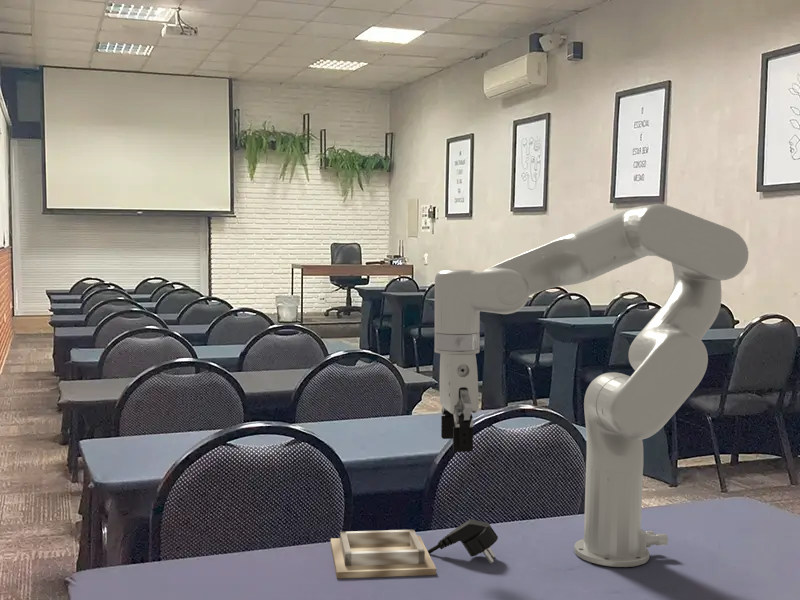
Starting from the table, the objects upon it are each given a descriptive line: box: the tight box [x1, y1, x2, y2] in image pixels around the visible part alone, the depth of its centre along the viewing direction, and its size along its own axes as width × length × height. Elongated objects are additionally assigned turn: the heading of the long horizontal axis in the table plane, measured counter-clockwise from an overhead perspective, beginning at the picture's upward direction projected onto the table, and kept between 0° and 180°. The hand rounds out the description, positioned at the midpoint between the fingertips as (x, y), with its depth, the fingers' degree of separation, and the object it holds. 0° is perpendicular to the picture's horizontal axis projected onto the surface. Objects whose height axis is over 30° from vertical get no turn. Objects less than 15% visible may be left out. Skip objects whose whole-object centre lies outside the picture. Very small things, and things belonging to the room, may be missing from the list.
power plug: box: [427, 518, 499, 564], centre depth 144 cm, size 6×8×12 cm
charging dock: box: [330, 529, 437, 579], centre depth 143 cm, size 16×16×3 cm
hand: (456, 444), depth 143 cm, fingers open, 9 cm apart
